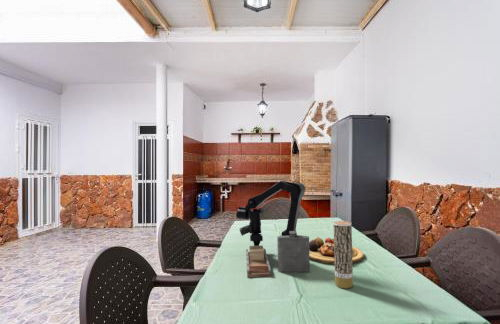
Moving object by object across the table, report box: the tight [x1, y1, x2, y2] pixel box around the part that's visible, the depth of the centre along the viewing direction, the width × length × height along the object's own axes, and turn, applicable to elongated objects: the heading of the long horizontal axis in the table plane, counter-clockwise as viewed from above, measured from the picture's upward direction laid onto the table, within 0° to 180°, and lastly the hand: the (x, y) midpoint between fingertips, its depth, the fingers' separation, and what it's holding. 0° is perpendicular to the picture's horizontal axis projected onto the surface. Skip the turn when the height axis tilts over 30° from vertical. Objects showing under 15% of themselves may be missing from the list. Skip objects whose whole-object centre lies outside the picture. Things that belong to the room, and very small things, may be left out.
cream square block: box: [248, 244, 265, 260], centre depth 140 cm, size 7×7×5 cm
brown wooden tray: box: [245, 248, 272, 278], centre depth 134 cm, size 30×10×4 cm, turn 2°
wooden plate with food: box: [309, 236, 365, 265], centre depth 146 cm, size 32×32×8 cm
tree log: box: [333, 220, 354, 289], centre depth 109 cm, size 7×7×25 cm
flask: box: [276, 230, 311, 274], centre depth 125 cm, size 4×14×18 cm, turn 85°
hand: (256, 249), depth 145 cm, fingers closed
